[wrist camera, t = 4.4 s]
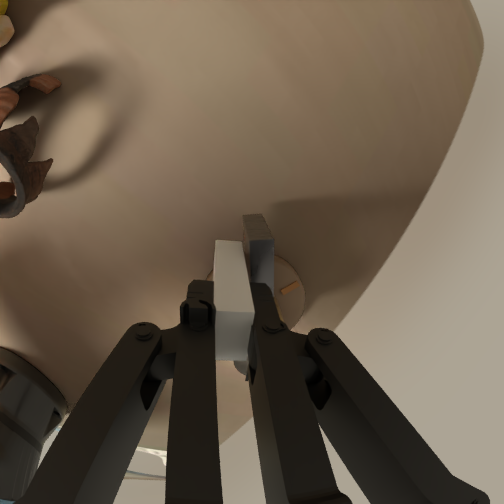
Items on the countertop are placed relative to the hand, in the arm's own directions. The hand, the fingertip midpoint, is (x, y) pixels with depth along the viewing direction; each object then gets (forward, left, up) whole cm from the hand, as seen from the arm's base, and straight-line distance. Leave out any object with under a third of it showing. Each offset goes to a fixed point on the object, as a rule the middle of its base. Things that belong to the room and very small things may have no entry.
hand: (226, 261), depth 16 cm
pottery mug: (-10, +17, -4) cm, 19 cm away
